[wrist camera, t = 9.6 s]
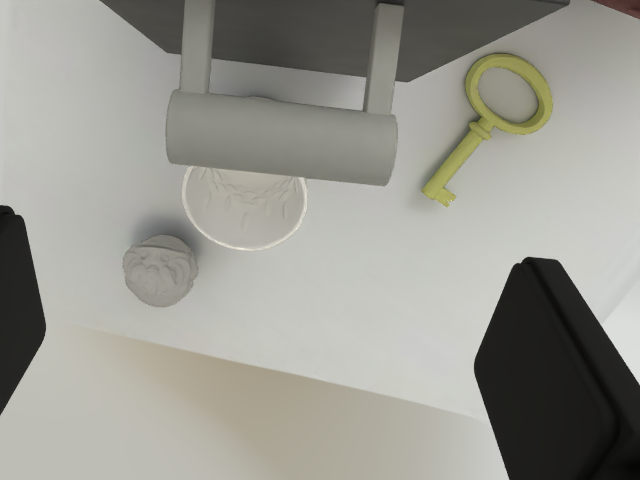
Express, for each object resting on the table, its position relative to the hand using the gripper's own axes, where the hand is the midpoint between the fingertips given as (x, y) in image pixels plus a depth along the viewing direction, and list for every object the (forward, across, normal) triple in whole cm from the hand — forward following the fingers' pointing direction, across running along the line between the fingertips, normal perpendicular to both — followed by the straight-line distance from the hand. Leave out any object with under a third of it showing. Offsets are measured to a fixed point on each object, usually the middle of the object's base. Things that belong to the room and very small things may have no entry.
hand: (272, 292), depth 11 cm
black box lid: (+13, 0, -3) cm, 13 cm away
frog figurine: (+31, +9, +22) cm, 39 cm away
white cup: (+32, +2, +10) cm, 33 cm away
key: (+32, -15, +8) cm, 36 cm away
